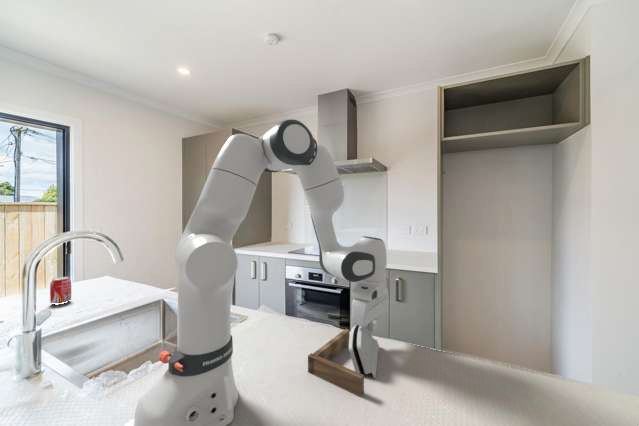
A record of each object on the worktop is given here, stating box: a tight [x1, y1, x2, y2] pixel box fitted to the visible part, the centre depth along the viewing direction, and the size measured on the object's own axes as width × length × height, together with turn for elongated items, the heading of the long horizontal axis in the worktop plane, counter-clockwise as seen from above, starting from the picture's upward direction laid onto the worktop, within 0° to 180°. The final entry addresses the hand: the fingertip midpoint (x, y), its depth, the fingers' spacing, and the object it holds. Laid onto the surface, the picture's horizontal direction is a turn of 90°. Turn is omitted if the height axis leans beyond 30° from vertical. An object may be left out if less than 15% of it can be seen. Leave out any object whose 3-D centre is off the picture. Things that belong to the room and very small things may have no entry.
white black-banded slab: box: [348, 324, 380, 379], centre depth 75 cm, size 17×5×10 cm, turn 164°
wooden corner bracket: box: [307, 328, 365, 398], centre depth 73 cm, size 20×16×4 cm
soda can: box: [49, 276, 72, 304], centre depth 121 cm, size 7×7×12 cm
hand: (372, 329), depth 82 cm, fingers closed
